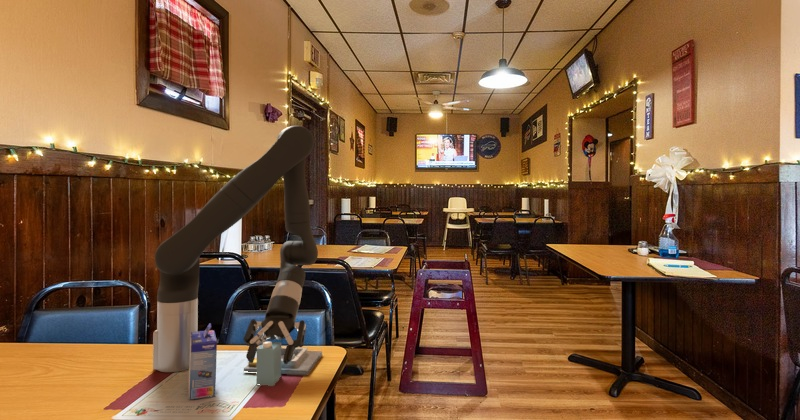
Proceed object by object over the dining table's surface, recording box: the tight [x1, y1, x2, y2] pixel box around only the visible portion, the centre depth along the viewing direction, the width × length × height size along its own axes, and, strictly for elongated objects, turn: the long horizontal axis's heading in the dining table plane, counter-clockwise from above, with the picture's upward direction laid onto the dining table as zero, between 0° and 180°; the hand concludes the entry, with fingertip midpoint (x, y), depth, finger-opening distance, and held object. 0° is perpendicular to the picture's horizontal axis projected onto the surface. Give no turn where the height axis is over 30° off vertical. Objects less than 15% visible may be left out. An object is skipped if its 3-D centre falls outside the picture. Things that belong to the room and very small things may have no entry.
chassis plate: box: [243, 346, 323, 377], centre depth 109 cm, size 16×14×3 cm
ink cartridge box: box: [187, 322, 218, 401], centre depth 93 cm, size 10×6×14 cm, turn 27°
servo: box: [256, 340, 282, 387], centre depth 98 cm, size 4×5×10 cm
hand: (267, 362), depth 97 cm, fingers open, 8 cm apart
